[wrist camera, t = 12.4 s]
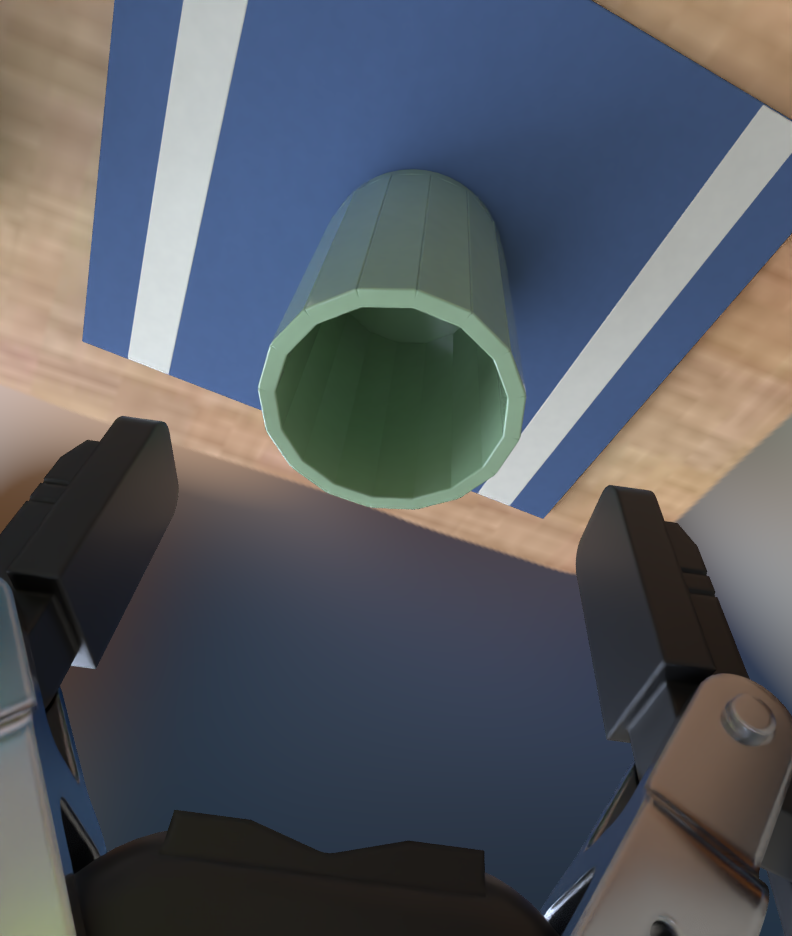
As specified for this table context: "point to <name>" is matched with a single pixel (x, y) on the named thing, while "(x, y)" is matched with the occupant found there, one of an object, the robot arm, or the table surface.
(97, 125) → the table surface
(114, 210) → the towel
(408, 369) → the tumbler
